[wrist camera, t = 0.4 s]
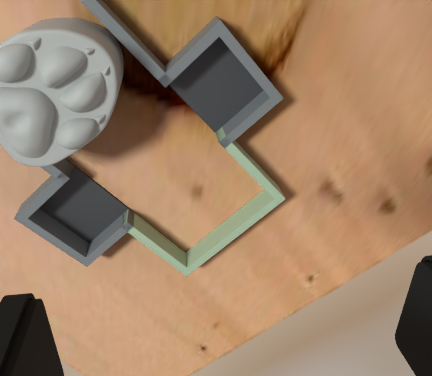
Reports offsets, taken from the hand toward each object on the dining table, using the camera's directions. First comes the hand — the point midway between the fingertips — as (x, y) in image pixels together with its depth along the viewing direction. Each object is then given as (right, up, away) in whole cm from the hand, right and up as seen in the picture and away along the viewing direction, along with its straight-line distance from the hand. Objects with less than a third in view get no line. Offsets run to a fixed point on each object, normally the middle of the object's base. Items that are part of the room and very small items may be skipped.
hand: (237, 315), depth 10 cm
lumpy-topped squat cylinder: (-16, +14, +30) cm, 37 cm away
